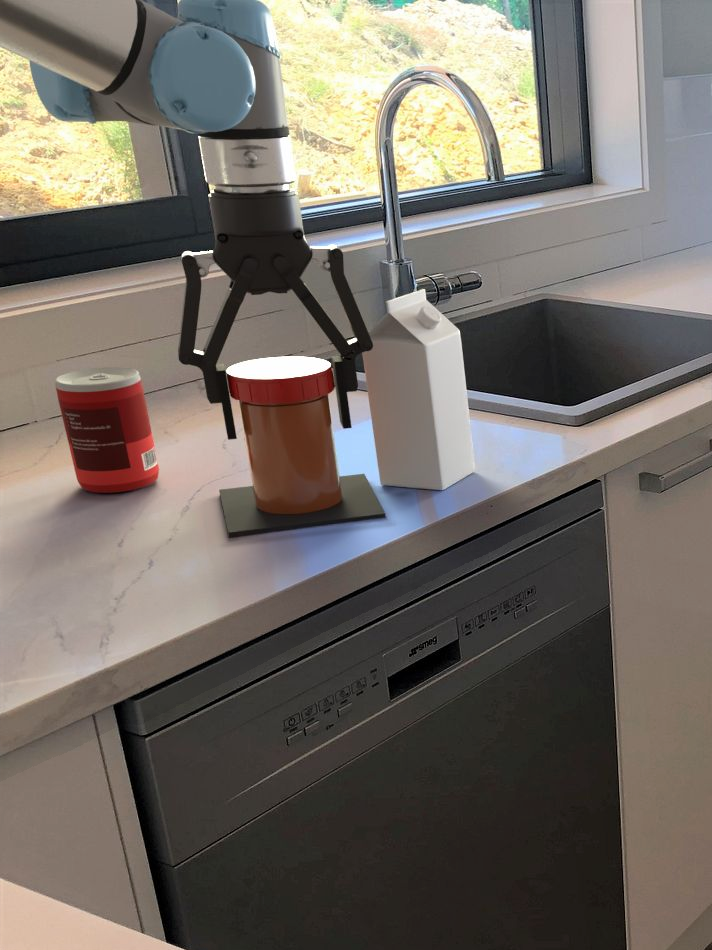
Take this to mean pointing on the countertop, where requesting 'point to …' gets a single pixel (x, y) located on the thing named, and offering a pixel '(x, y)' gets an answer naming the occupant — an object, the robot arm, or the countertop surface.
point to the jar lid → (280, 380)
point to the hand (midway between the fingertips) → (289, 430)
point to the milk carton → (418, 396)
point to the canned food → (108, 429)
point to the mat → (351, 508)
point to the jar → (292, 455)
